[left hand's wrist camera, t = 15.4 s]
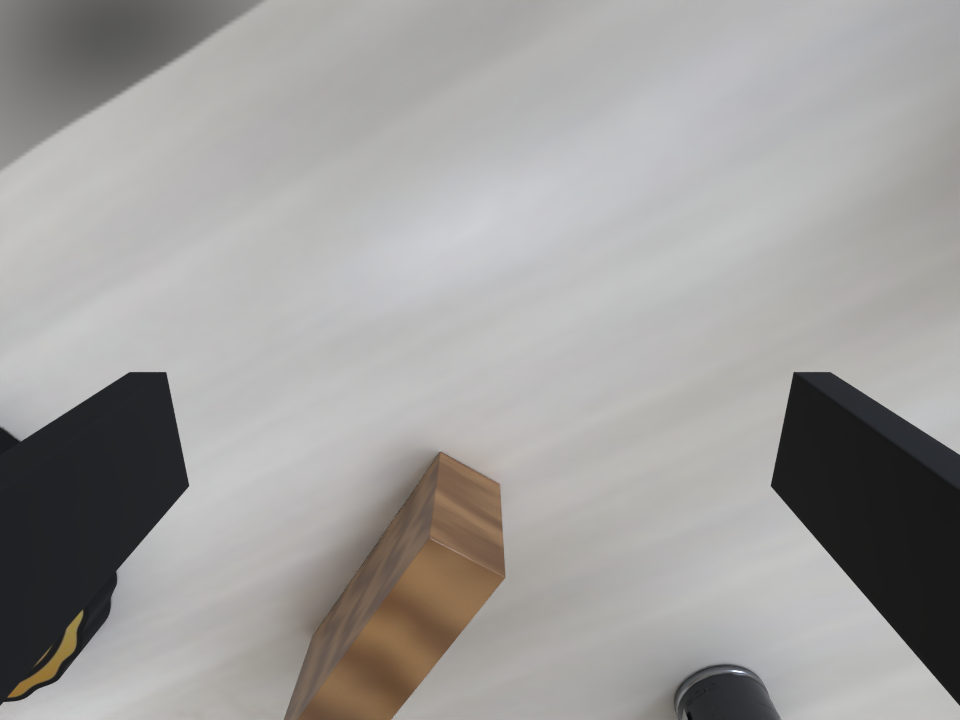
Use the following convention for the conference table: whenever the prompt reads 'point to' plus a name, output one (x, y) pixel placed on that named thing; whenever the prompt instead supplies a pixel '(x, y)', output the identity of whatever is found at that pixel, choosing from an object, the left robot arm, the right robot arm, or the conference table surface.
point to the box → (406, 599)
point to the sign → (71, 638)
